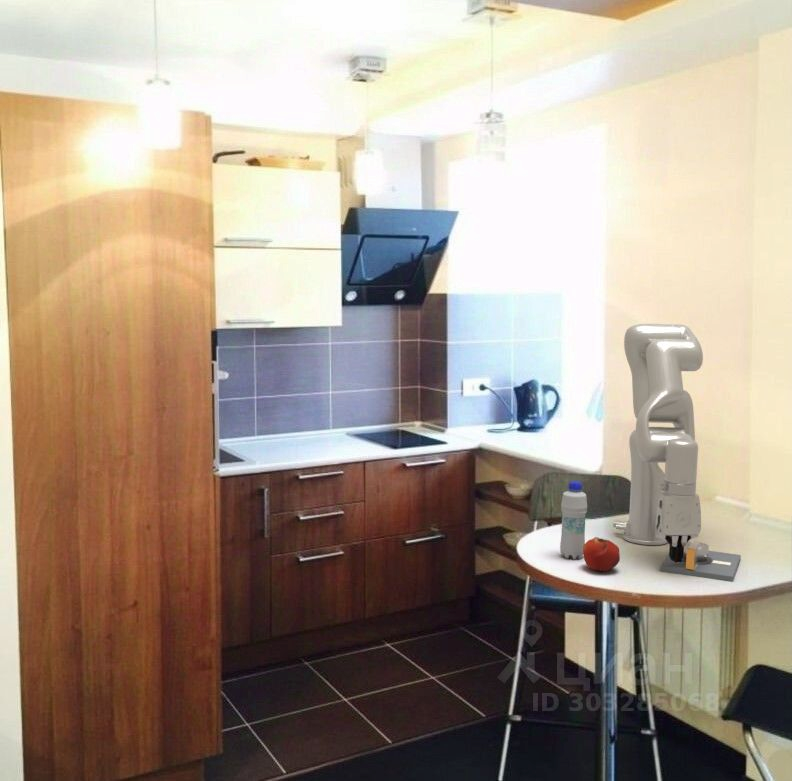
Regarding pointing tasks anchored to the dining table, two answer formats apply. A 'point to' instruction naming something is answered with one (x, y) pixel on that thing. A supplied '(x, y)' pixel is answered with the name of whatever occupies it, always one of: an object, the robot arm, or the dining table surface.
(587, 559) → the tomato
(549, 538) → the dining table surface
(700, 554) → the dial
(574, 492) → the bottle
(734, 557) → the panel
